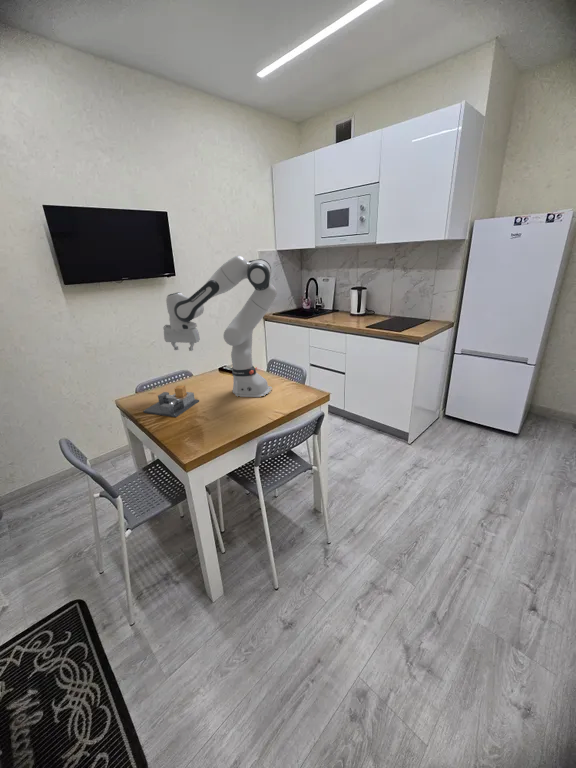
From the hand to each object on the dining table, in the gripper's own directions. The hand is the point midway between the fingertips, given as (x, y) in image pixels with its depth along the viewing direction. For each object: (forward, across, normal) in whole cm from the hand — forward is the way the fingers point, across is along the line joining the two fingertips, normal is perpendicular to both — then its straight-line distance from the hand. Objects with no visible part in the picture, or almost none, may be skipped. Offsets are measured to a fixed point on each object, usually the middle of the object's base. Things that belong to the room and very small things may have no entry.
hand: (183, 350), depth 171 cm
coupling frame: (+25, +1, -19) cm, 31 cm away
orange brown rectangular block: (+24, +5, -15) cm, 29 cm away
